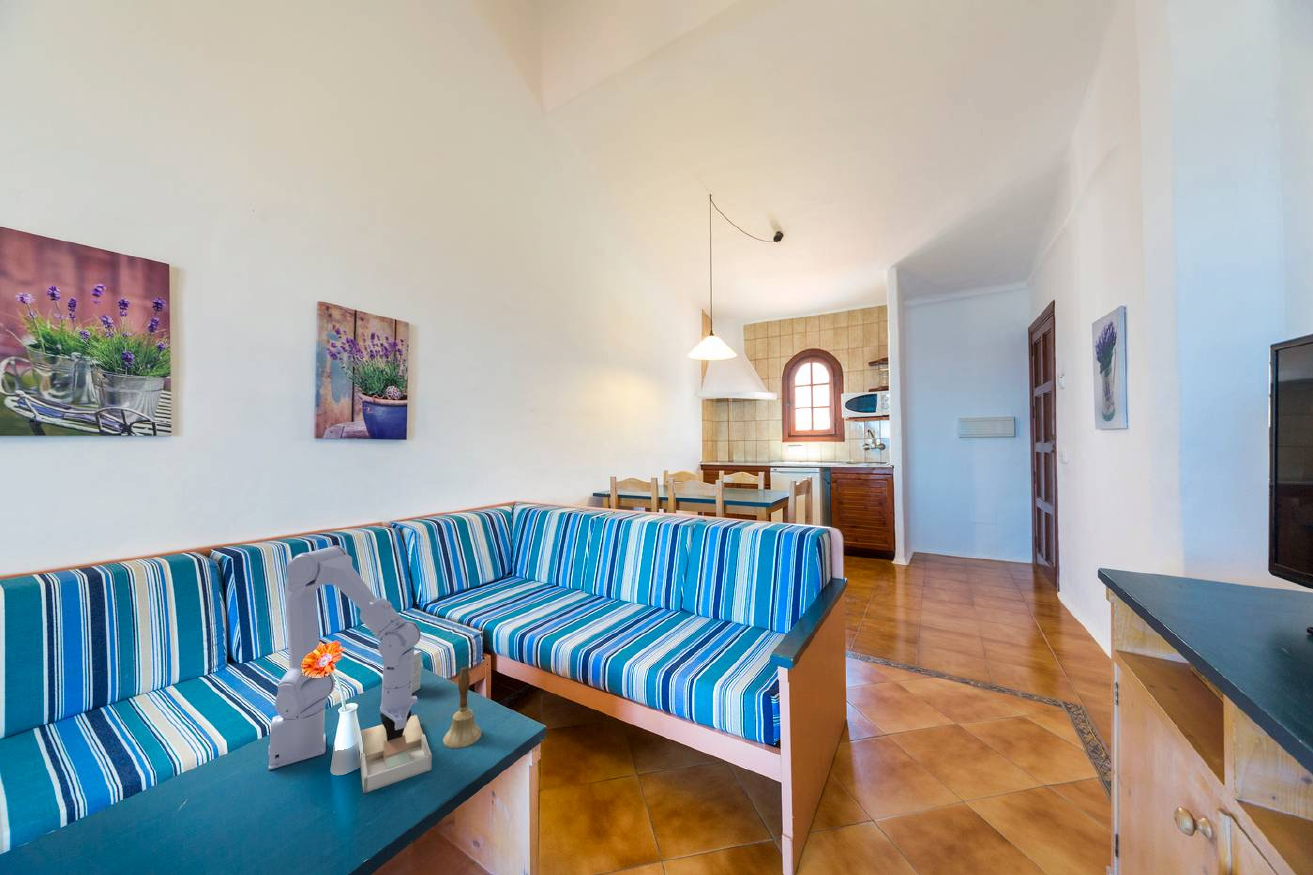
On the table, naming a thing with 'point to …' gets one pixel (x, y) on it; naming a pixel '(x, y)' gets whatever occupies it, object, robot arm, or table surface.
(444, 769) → the table surface
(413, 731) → the beech board
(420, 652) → the small box
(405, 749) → the terracotta tile
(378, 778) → the tray
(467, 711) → the hand bell
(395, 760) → the sage tile
